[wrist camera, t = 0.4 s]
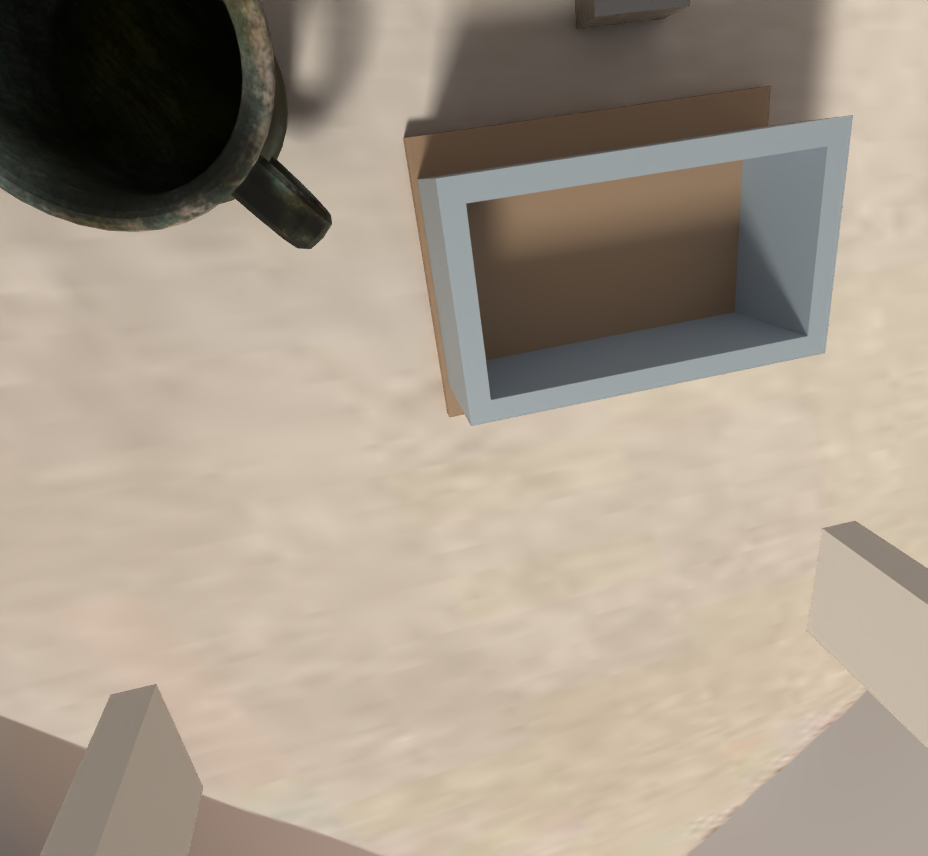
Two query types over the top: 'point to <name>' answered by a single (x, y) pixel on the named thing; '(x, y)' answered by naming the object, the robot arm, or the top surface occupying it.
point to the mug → (147, 114)
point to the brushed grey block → (623, 11)
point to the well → (625, 248)
